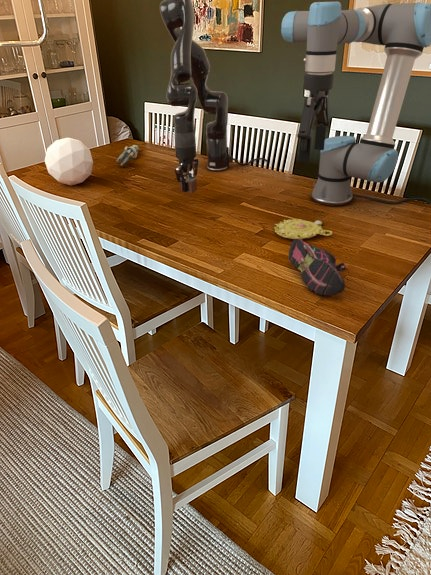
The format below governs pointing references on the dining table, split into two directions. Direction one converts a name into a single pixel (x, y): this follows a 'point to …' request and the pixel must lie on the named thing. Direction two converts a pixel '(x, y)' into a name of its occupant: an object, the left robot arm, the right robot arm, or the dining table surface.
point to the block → (190, 185)
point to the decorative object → (300, 229)
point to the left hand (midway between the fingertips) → (188, 189)
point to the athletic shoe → (317, 268)
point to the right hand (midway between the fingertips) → (311, 155)
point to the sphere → (69, 161)
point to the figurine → (128, 154)
